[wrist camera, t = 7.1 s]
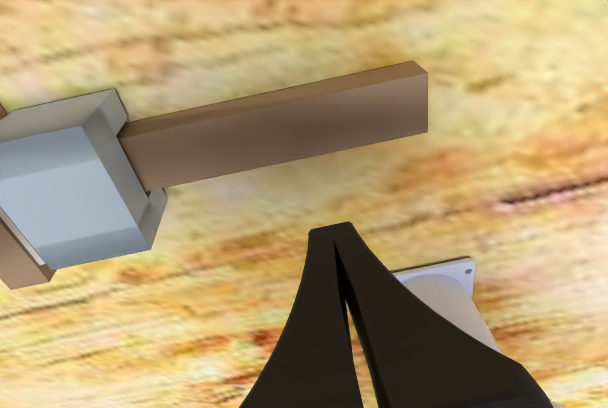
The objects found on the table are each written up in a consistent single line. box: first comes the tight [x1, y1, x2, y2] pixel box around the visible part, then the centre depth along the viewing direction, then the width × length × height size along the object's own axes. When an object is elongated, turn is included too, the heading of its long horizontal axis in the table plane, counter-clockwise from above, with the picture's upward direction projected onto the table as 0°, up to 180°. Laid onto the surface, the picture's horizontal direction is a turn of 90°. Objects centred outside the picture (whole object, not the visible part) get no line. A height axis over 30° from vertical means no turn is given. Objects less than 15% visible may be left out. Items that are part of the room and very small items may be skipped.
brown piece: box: [0, 61, 428, 290], centre depth 19 cm, size 8×22×4 cm, turn 100°
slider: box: [0, 89, 167, 270], centre depth 19 cm, size 7×5×4 cm
